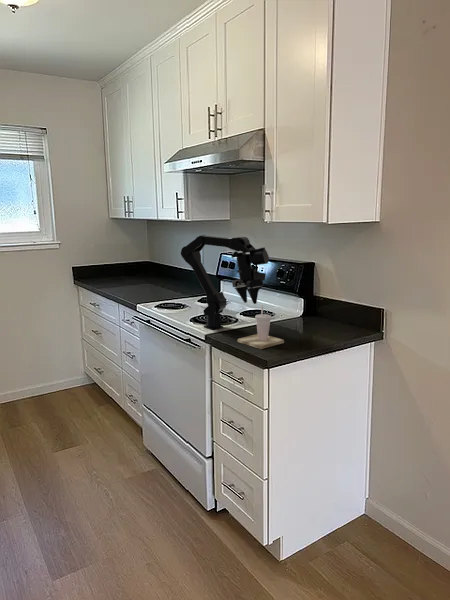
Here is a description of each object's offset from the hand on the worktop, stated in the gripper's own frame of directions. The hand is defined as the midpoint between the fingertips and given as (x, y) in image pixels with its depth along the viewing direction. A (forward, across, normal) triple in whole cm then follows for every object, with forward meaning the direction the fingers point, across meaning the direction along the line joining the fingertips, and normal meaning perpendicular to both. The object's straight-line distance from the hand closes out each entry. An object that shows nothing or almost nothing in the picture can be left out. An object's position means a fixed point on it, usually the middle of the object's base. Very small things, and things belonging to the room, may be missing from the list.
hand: (250, 303), depth 193 cm
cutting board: (+14, -14, +4) cm, 20 cm away
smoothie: (+14, -14, +4) cm, 20 cm away
